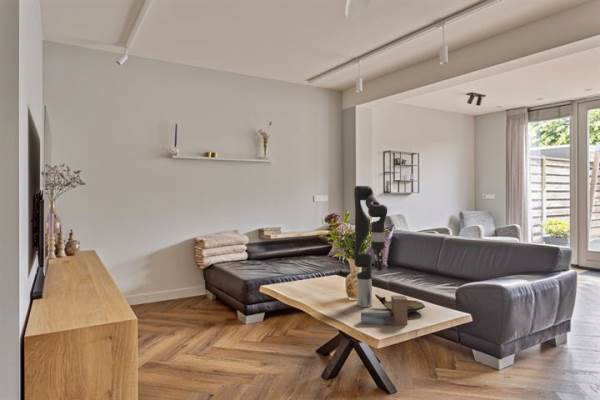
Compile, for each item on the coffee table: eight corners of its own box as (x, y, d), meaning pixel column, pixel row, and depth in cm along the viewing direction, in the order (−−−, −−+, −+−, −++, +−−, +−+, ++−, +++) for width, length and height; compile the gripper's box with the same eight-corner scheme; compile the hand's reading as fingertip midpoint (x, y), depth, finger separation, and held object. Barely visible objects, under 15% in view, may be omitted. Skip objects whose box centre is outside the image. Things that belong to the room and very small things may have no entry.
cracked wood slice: (405, 320, 218) (405, 307, 218) (369, 307, 244) (369, 295, 244) (433, 314, 230) (433, 301, 229) (396, 302, 255) (396, 290, 255)
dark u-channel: (382, 320, 219) (382, 295, 219) (403, 320, 219) (403, 295, 219) (385, 325, 211) (384, 299, 211) (407, 325, 211) (407, 299, 211)
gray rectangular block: (360, 322, 217) (360, 311, 217) (390, 321, 217) (390, 311, 217) (361, 324, 213) (361, 313, 213) (391, 324, 213) (391, 313, 213)
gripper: (369, 238, 228) (369, 266, 229) (373, 242, 214) (373, 271, 214) (382, 238, 228) (382, 266, 228) (387, 241, 214) (387, 271, 214)
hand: (378, 269), depth 221 cm, fingers open, 8 cm apart
